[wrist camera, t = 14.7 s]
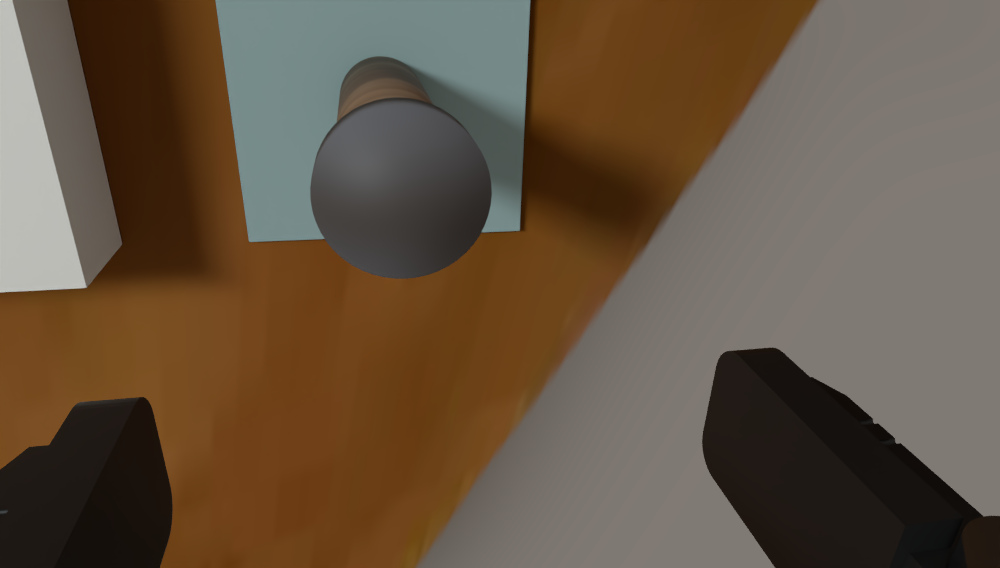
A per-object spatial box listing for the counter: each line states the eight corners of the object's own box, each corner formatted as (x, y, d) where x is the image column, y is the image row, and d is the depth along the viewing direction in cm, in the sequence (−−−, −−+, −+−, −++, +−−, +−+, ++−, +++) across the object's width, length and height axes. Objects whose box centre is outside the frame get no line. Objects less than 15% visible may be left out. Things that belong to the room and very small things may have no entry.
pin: (324, 44, 31) (301, 105, 17) (433, 45, 31) (494, 104, 18) (332, 152, 33) (318, 283, 19) (435, 150, 34) (490, 274, 20)
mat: (207, -72, 28) (205, -72, 28) (530, -58, 31) (532, -59, 30) (250, 239, 34) (249, 241, 34) (518, 228, 37) (519, 230, 36)
